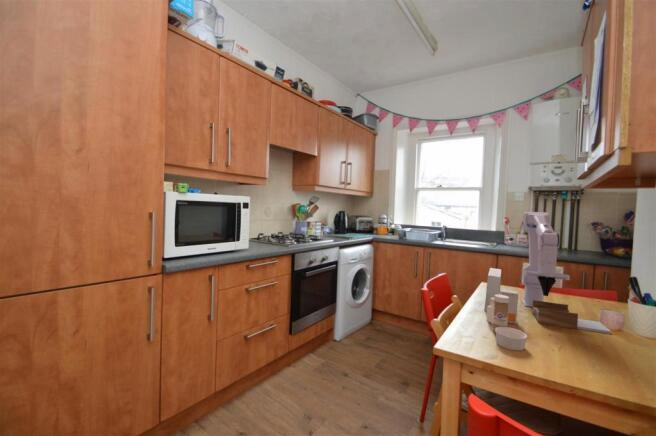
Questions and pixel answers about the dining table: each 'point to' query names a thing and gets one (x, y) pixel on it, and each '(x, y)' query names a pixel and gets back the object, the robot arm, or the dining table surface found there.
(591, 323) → the lid
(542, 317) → the case
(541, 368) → the dining table surface
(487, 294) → the skincare box
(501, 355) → the dining table surface
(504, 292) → the skincare box
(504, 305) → the sprinkles bottle
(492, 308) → the salt shaker
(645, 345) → the dining table surface
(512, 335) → the ramekin
